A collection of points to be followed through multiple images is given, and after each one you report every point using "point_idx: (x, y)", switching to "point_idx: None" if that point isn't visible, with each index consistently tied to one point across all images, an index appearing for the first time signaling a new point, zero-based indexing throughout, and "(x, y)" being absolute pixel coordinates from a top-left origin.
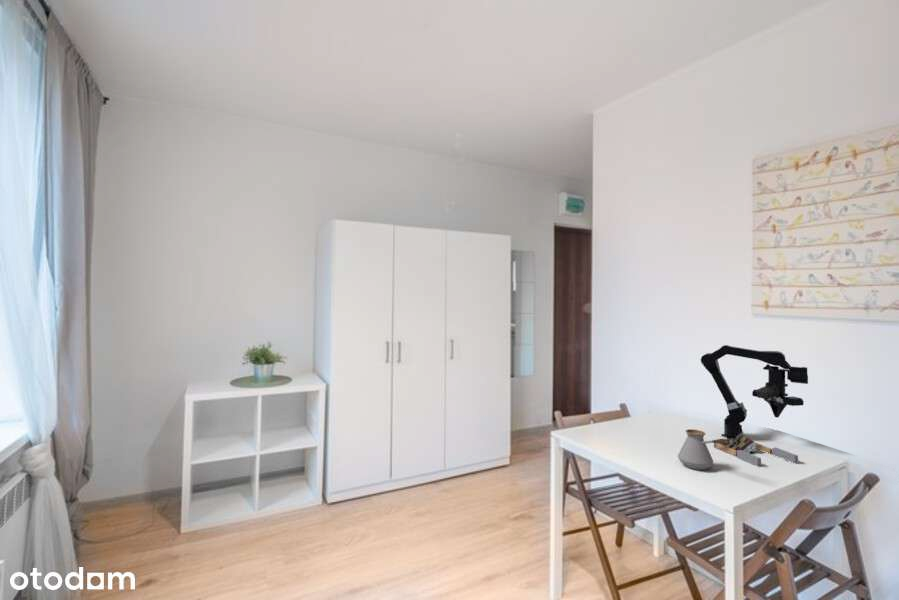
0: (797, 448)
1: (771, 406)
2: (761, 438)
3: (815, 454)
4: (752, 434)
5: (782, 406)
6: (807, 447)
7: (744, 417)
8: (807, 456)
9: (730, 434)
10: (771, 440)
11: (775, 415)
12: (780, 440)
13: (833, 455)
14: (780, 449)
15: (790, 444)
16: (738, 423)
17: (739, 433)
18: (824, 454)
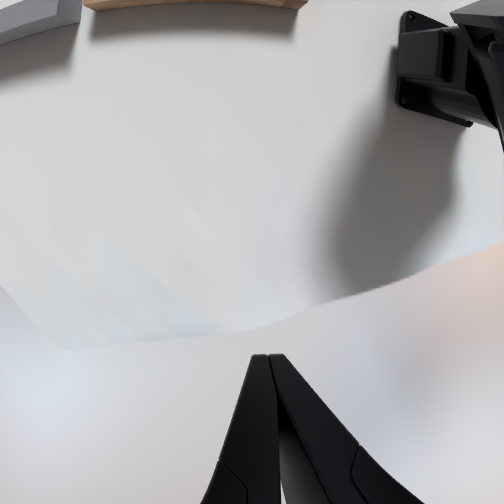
0: (162, 272)
1: (371, 491)
2: (368, 230)
3: (69, 274)
4: (426, 245)
5: None
6: (172, 332)
7: (499, 42)
8: (38, 203)
9: (444, 27)
10: (320, 255)
11: (267, 371)
12: (302, 302)
13: (65, 334)
14: (19, 18)
15: (231, 296)
16: (467, 10)
17: (419, 48)
18: (73, 313)
